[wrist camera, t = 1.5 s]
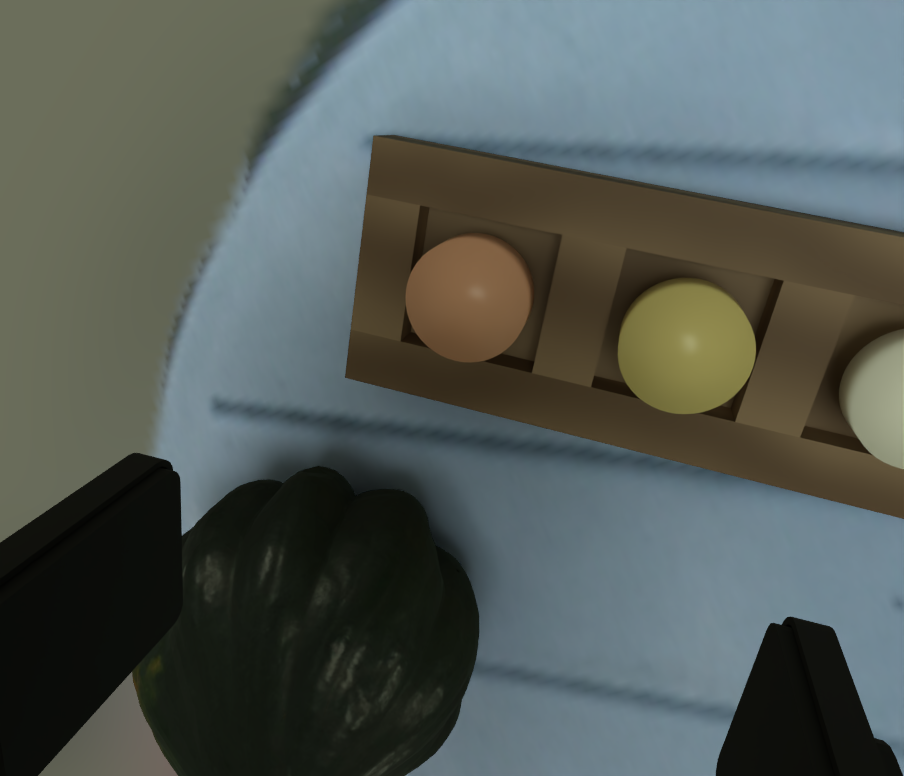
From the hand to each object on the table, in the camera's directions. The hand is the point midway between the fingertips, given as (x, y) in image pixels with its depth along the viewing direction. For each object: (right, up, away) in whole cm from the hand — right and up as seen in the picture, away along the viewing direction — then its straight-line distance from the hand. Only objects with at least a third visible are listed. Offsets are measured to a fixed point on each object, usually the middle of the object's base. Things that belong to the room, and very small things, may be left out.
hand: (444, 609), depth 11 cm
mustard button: (+9, +5, +16) cm, 19 cm away
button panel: (+9, +6, +18) cm, 21 cm away
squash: (-5, -6, +26) cm, 27 cm away
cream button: (+16, +3, +14) cm, 22 cm away
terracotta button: (+1, +7, +17) cm, 19 cm away
